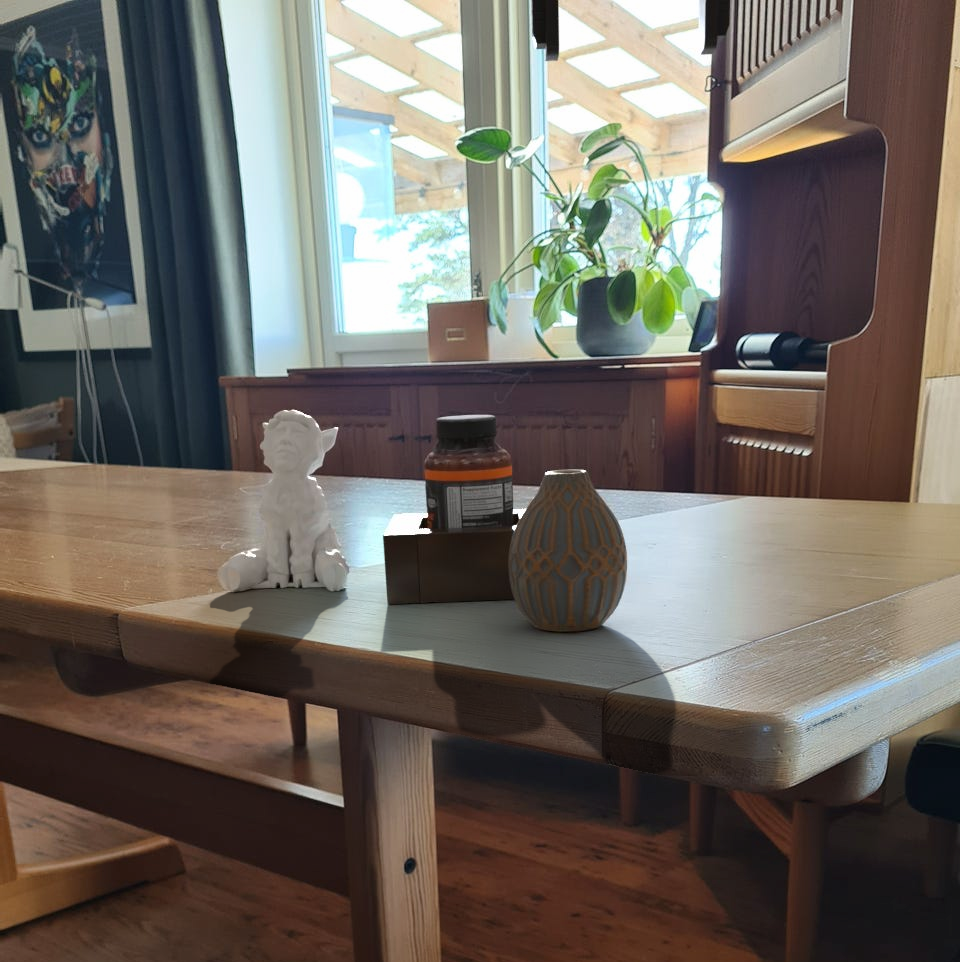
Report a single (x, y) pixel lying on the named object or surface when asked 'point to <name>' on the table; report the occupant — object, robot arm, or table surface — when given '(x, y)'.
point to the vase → (567, 556)
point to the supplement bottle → (468, 475)
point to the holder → (446, 561)
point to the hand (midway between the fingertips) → (630, 55)
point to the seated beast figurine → (291, 515)
